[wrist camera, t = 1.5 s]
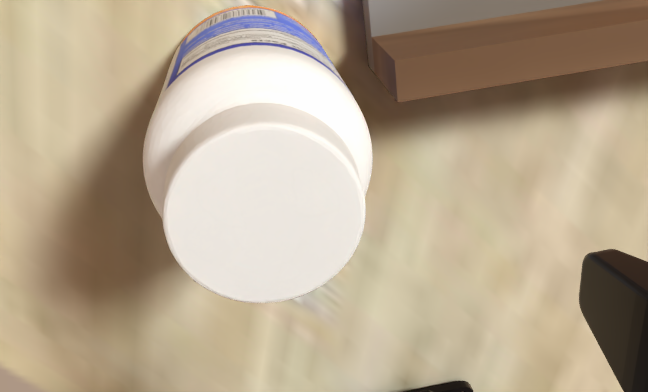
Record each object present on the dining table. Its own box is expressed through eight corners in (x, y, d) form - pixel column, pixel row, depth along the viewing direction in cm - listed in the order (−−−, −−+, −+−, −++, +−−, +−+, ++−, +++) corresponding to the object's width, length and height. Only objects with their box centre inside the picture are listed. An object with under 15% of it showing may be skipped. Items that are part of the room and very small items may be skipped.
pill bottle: (288, 182, 22) (327, 366, 14) (142, 123, 21) (83, 291, 12) (359, 46, 21) (456, 159, 12) (206, -31, 19) (191, 37, 10)
